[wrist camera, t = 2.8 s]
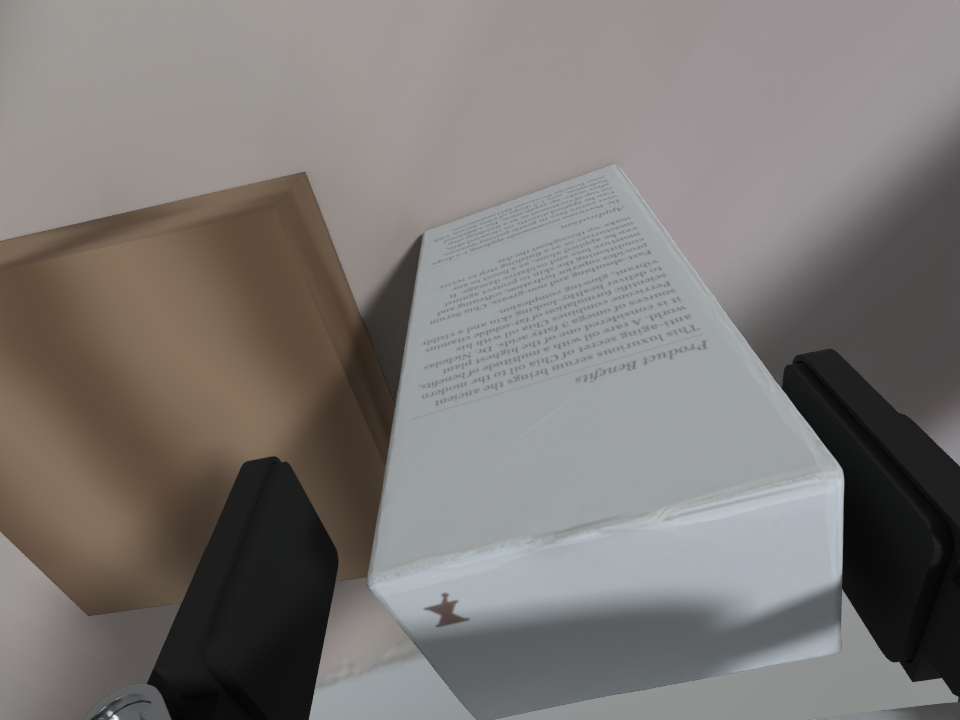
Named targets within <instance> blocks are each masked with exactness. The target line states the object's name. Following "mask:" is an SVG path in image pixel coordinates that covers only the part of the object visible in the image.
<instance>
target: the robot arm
mask: <svg viewBox="0 0 960 720" xmlns="http://www.w3.org/2000/svg"><path fill="white" fill-rule="evenodd" d="M782 390H783V391H784V392H785V394H786V395H787V396H788V398H789V399H790V401H791V402H792V403H793V405H794V406H795V407H796V409H797V410H798V411H799V413H800V414H801V415H802V416H803V418H804V419H805V420H806V422H807V423H808V424H809V425H810V427H811V428H812V429H813V431H814V432H815V433H816V435H817V436H818V437H819V439H820V440H821V441H822V443H823V444H824V445H825V447H826V448H827V449H828V451H829V452H830V453H831V454H832V456H833V457H834V458H835V459H836V461H837V462H838V463H839V465H840V467H841V468H842V470H843V476H844V504H843V562H842V589H843V591H844V592H845V594H846V595H847V597H848V599H849V600H850V602H851V603H852V605H853V607H854V608H855V610H856V611H857V613H858V615H859V616H860V618H861V619H862V621H863V623H864V624H865V626H866V627H867V629H868V631H869V632H870V634H871V635H872V637H873V639H874V640H875V642H876V643H877V645H878V646H879V648H880V650H881V651H882V653H883V654H884V655H885V657H886V658H887V659H889V660H890V661H892V662H900V664H901V665H902V666H903V668H904V670H905V671H906V673H907V674H908V676H909V677H910V679H911V680H912V682H916V681H924V680H931V679H938V678H943V680H944V681H945V683H946V684H947V686H948V687H949V689H950V690H951V692H952V693H953V694H954V695H956V696H958V702H955V703H943V704H934V705H925V706H917V707H908V708H900V709H891V710H882V711H874V712H866V713H857V714H849V715H839V716H831V717H824V718H817V719H809V720H960V466H959V465H958V464H957V463H956V462H955V461H954V460H953V459H952V458H950V457H949V456H948V455H947V454H946V453H945V452H944V451H943V450H942V449H941V448H940V447H939V446H938V445H937V444H936V443H935V442H934V441H933V440H932V439H931V438H930V437H929V436H928V435H927V434H926V433H925V432H924V431H923V430H922V429H921V428H920V427H919V426H918V425H917V424H916V423H915V422H914V421H912V420H911V419H910V418H908V417H907V416H906V415H903V414H900V413H898V412H897V411H896V410H895V409H894V408H893V407H892V406H891V405H890V404H889V403H888V402H887V401H886V400H885V399H884V398H883V397H882V396H881V395H880V394H879V393H878V392H877V391H876V390H875V389H874V388H873V387H872V386H871V385H870V384H869V383H868V382H867V381H866V380H865V379H864V378H863V377H862V376H861V375H860V374H859V373H858V372H857V371H856V370H855V369H854V368H853V367H852V366H851V365H850V364H849V363H848V362H847V361H846V360H845V359H843V358H842V357H841V356H840V355H839V354H838V353H837V352H836V351H835V350H833V349H826V350H821V351H816V352H811V353H805V354H800V355H797V356H795V358H794V360H793V364H791V365H787V366H786V367H785V369H784V375H783V386H782ZM338 564H339V561H338V553H337V550H336V547H335V545H334V544H333V542H332V540H331V538H330V536H329V534H328V533H327V531H326V529H325V527H324V525H323V524H322V522H321V520H320V518H319V516H318V514H317V513H316V511H315V509H314V507H313V505H312V503H311V502H310V500H309V498H308V496H307V494H306V493H305V491H304V489H303V487H302V485H301V483H300V482H299V480H298V478H297V476H296V474H295V472H294V471H293V469H292V467H291V465H290V464H289V463H288V462H281V461H280V459H279V458H278V457H276V456H271V457H266V458H261V459H256V460H250V461H246V462H245V463H243V465H242V466H241V468H240V471H239V473H238V475H237V478H236V480H235V482H234V484H233V487H232V489H231V491H230V494H229V496H228V498H227V501H226V503H225V505H224V508H223V510H222V512H221V515H220V517H219V519H218V522H217V524H216V526H215V529H214V531H213V533H212V536H211V538H210V540H209V543H208V545H207V547H206V548H205V550H204V553H203V555H202V557H201V560H200V562H199V564H198V567H197V569H196V571H195V574H194V576H193V578H192V581H191V583H190V585H189V587H188V590H187V592H186V594H185V597H184V599H183V601H182V604H181V606H180V608H179V611H178V613H177V615H176V618H175V620H174V622H173V625H172V627H171V629H170V632H169V634H168V636H167V639H166V641H165V643H164V645H163V648H162V650H161V652H160V655H159V657H158V659H157V662H156V664H155V666H154V669H153V671H152V673H151V676H150V678H149V680H148V683H147V684H146V683H143V684H132V685H129V686H126V687H124V688H121V689H118V690H116V691H115V692H113V693H112V694H110V695H108V696H107V697H105V698H104V699H102V700H101V701H100V702H99V703H98V704H97V705H96V706H94V707H93V708H92V709H91V710H90V711H89V712H88V713H87V714H86V715H85V717H84V718H83V719H82V720H309V715H310V710H311V705H312V700H313V695H314V689H315V684H316V679H317V674H318V669H319V664H320V659H321V653H322V648H323V643H324V638H325V633H326V628H327V623H328V617H329V612H330V607H331V602H332V597H333V592H334V587H335V581H336V576H337V571H338Z"/></svg>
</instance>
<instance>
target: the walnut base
mask: <svg viewBox="0 0 960 720" xmlns="http://www.w3.org/2000/svg"><path fill="white" fill-rule="evenodd" d="M394 411H395V404H394V401H393V399H392V396H391V394H390V391H389V388H388V386H387V383H386V381H385V378H384V375H383V373H382V370H381V368H380V365H379V362H378V360H377V357H376V355H375V352H374V349H373V347H372V344H371V342H370V339H369V336H368V334H367V331H366V329H365V326H364V323H363V321H362V318H361V316H360V313H359V310H358V308H357V305H356V303H355V300H354V297H353V295H352V292H351V290H350V287H349V284H348V282H347V279H346V277H345V274H344V271H343V269H342V266H341V263H340V261H339V258H338V256H337V253H336V250H335V248H334V245H333V243H332V240H331V237H330V235H329V232H328V230H327V227H326V224H325V222H324V219H323V217H322V214H321V211H320V209H319V206H318V204H317V201H316V198H315V196H314V193H313V191H312V188H311V185H310V183H309V180H308V178H307V175H306V172H302V173H298V174H293V175H289V176H284V177H280V178H276V179H271V180H267V181H263V182H258V183H254V184H249V185H245V186H241V187H236V188H232V189H227V190H223V191H219V192H214V193H210V194H205V195H201V196H197V197H192V198H188V199H183V200H179V201H175V202H170V203H166V204H162V205H157V206H153V207H148V208H144V209H140V210H135V211H131V212H126V213H122V214H118V215H113V216H109V217H104V218H100V219H96V220H91V221H87V222H83V223H78V224H74V225H69V226H65V227H61V228H56V229H52V230H47V231H43V232H39V233H34V234H30V235H25V236H21V237H17V238H12V239H8V240H3V241H0V532H1V533H2V534H3V535H4V536H6V537H7V538H8V539H9V540H10V541H11V542H12V543H13V544H14V545H15V546H16V547H17V548H18V549H19V550H20V551H21V552H22V553H23V554H24V555H25V556H26V557H27V558H28V559H29V560H31V561H32V562H33V563H34V564H35V565H36V566H37V567H38V568H39V569H40V570H41V571H42V572H43V573H44V574H45V575H46V576H47V577H48V578H49V579H50V580H51V581H52V582H53V583H54V584H56V585H57V586H58V587H59V588H60V589H61V590H62V591H63V592H64V593H65V594H66V595H67V596H68V597H69V598H70V599H71V600H72V601H73V602H74V603H75V604H76V605H77V606H78V607H79V608H80V609H82V610H83V611H84V612H85V613H86V614H87V615H88V616H92V615H99V614H106V613H114V612H121V611H128V610H135V609H142V608H149V607H156V606H163V605H170V604H177V603H182V601H183V599H184V597H185V594H186V592H187V590H188V587H189V585H190V583H191V581H192V578H193V576H194V574H195V571H196V569H197V567H198V564H199V562H200V560H201V557H202V555H203V553H204V550H205V548H206V547H207V545H208V543H209V540H210V538H211V536H212V533H213V531H214V529H215V526H216V524H217V522H218V519H219V517H220V515H221V512H222V510H223V508H224V505H225V503H226V501H227V498H228V496H229V494H230V491H231V489H232V487H233V484H234V482H235V480H236V478H237V475H238V473H239V471H240V468H241V466H242V465H243V463H245V462H246V461H250V460H256V459H261V458H266V457H271V456H276V457H278V458H279V459H280V461H281V462H288V463H289V464H290V465H291V467H292V469H293V471H294V472H295V474H296V476H297V478H298V480H299V482H300V483H301V485H302V487H303V489H304V491H305V493H306V494H307V496H308V498H309V500H310V502H311V503H312V505H313V507H314V509H315V511H316V513H317V514H318V516H319V518H320V520H321V522H322V524H323V525H324V527H325V529H326V531H327V533H328V534H329V536H330V538H331V540H332V542H333V544H334V545H335V547H336V550H337V553H338V561H339V564H338V571H337V576H336V581H341V580H348V579H355V578H362V577H367V575H368V569H369V564H370V558H371V553H372V547H373V541H374V535H375V529H376V522H377V516H378V510H379V505H380V501H381V494H382V488H383V481H384V474H385V467H386V461H387V455H388V449H389V443H390V436H391V430H392V423H393V417H394Z"/></svg>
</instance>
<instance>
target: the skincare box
mask: <svg viewBox="0 0 960 720" xmlns="http://www.w3.org/2000/svg"><path fill="white" fill-rule="evenodd" d="M843 504H844V476H843V470H842V468H841V467H840V465H839V463H838V462H837V461H836V459H835V458H834V457H833V456H832V454H831V453H830V452H829V451H828V449H827V448H826V447H825V445H824V444H823V443H822V441H821V440H820V439H819V437H818V436H817V435H816V433H815V432H814V431H813V429H812V428H811V427H810V425H809V424H808V423H807V422H806V420H805V419H804V418H803V416H802V415H801V414H800V413H799V411H798V410H797V409H796V407H795V406H794V405H793V403H792V402H791V401H790V399H789V398H788V396H787V395H786V394H785V392H784V391H783V390H782V389H781V387H780V386H779V385H778V384H777V383H776V381H775V380H774V378H773V377H772V376H771V374H770V373H769V371H768V370H767V369H766V367H765V366H764V364H763V363H762V362H761V360H760V359H759V358H758V356H757V355H756V354H755V352H754V351H753V350H752V349H751V347H750V346H749V344H748V343H747V341H746V340H745V338H744V337H743V336H742V334H741V333H740V332H739V330H738V329H737V328H736V327H735V325H734V324H733V323H732V321H731V320H730V318H729V317H728V316H727V314H726V313H725V311H724V310H723V309H722V307H721V306H720V304H719V303H718V302H717V300H716V299H715V297H714V296H713V295H712V293H711V292H710V291H709V289H708V288H707V287H706V285H705V284H704V282H703V281H702V280H701V278H700V277H699V275H698V274H697V272H696V271H695V270H694V268H693V267H692V266H691V264H690V263H689V262H688V260H687V259H686V258H685V256H684V255H683V254H682V252H681V251H680V249H679V248H678V246H677V245H676V244H675V242H674V241H673V239H672V238H671V237H670V235H669V234H668V232H667V231H666V230H665V228H664V227H663V225H662V224H661V223H660V221H659V220H658V219H657V217H656V216H655V214H654V213H653V212H652V210H651V209H650V207H649V206H648V205H647V203H646V202H645V201H644V199H643V198H642V196H641V195H640V194H639V192H638V191H637V190H636V188H635V187H634V185H633V184H632V182H631V181H630V180H629V178H628V177H627V176H626V174H625V173H624V172H623V170H622V169H621V168H620V167H619V166H618V165H615V164H612V165H609V166H607V167H604V168H601V169H599V170H596V171H593V172H590V173H587V174H585V175H582V176H579V177H576V178H573V179H570V180H568V181H565V182H562V183H559V184H556V185H553V186H551V187H548V188H545V189H542V190H540V191H537V192H534V193H531V194H528V195H525V196H522V197H520V198H517V199H514V200H512V201H509V202H506V203H503V204H500V205H498V206H495V207H492V208H489V209H486V210H484V211H481V212H478V213H476V214H473V215H470V216H467V217H464V218H461V219H459V220H456V221H453V222H450V223H447V224H444V225H441V226H439V227H436V228H433V229H429V230H427V231H425V232H424V233H423V237H422V243H421V249H420V255H419V261H418V268H417V274H416V281H415V287H414V293H413V300H412V305H411V311H410V317H409V323H408V330H407V336H406V342H405V348H404V354H403V360H402V367H401V374H400V381H399V387H398V392H397V399H396V406H395V411H394V417H393V423H392V430H391V436H390V443H389V449H388V455H387V461H386V467H385V474H384V481H383V488H382V494H381V501H380V505H379V510H378V516H377V522H376V529H375V535H374V541H373V547H372V553H371V558H370V564H369V569H368V575H367V586H368V588H369V590H370V591H371V592H372V593H373V594H374V595H375V596H376V598H377V599H378V600H379V601H380V602H381V603H382V605H383V606H384V607H385V608H386V609H387V611H388V612H389V613H390V614H391V615H392V617H393V618H394V619H395V620H396V622H397V623H398V624H399V625H400V626H401V628H402V629H403V630H404V631H405V633H406V634H407V635H408V636H409V637H410V639H411V640H412V641H413V642H414V644H415V645H416V646H417V647H418V649H419V650H420V651H421V652H422V654H423V655H424V656H425V657H426V659H427V660H428V661H429V663H430V664H431V665H432V667H433V668H434V669H435V670H436V672H437V673H438V674H439V675H440V676H441V678H442V679H443V680H444V682H445V683H446V684H447V686H448V687H449V688H450V689H451V690H452V692H453V693H454V694H455V696H456V697H457V698H458V699H459V701H460V702H461V703H462V704H463V705H464V706H465V708H466V709H467V710H468V711H469V712H470V713H471V714H472V715H473V716H474V717H475V718H476V719H477V720H494V719H498V718H503V717H508V716H512V715H517V714H522V713H526V712H531V711H536V710H541V709H545V708H550V707H555V706H560V705H565V704H570V703H574V702H579V701H584V700H589V699H594V698H600V697H604V696H609V695H615V694H622V693H627V692H634V691H640V690H646V689H651V688H656V687H661V686H666V685H672V684H677V683H683V682H688V681H694V680H699V679H704V678H708V677H714V676H720V675H725V674H732V673H737V672H742V671H747V670H752V669H757V668H761V667H766V666H771V665H777V664H783V663H789V662H794V661H799V660H804V659H809V658H815V657H821V656H827V655H833V654H837V653H839V652H840V651H841V648H842V645H841V603H842V601H841V600H842V562H843Z"/></svg>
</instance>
